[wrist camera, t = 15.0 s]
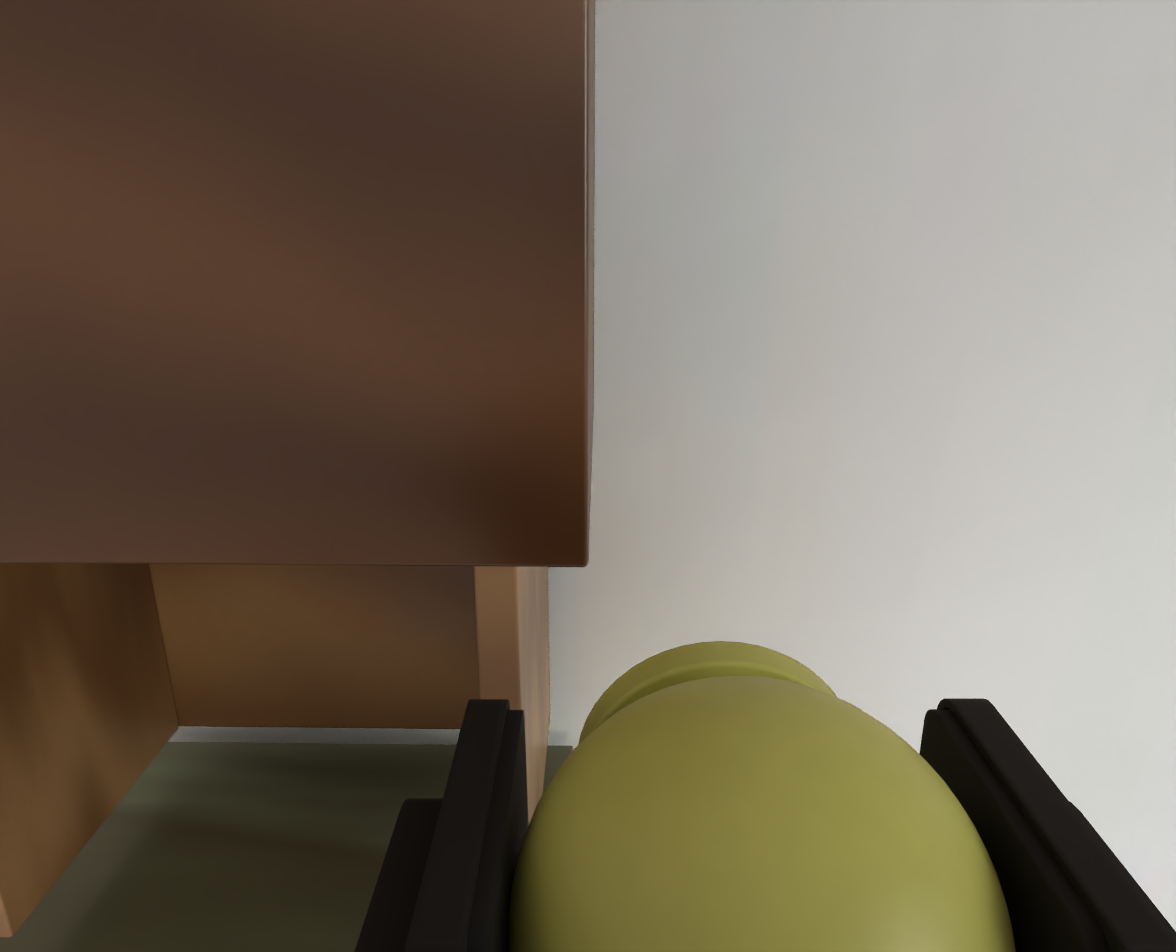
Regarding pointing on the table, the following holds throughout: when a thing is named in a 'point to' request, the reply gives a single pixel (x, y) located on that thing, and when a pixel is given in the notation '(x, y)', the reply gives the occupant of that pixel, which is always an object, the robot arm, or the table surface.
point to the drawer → (237, 769)
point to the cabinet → (297, 282)
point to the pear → (748, 824)
